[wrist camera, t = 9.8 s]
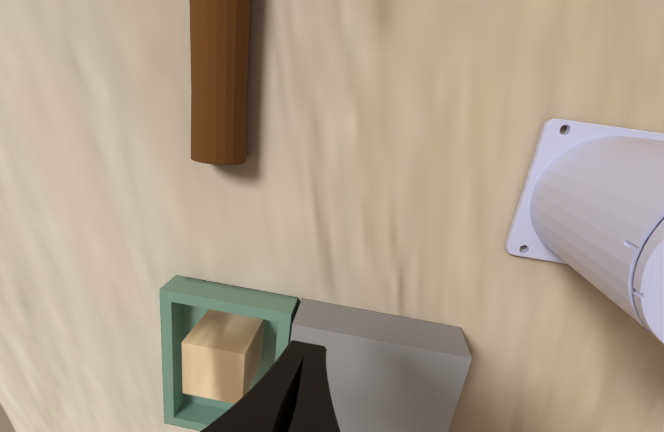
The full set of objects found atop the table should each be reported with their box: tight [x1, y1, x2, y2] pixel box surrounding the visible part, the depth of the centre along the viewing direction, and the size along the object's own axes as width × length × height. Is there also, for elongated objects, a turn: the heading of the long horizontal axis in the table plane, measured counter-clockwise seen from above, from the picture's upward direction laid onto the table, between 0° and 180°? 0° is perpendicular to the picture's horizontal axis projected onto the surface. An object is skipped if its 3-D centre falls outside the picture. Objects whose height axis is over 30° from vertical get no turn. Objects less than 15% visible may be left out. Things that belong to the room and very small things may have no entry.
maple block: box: [182, 309, 265, 404], centre depth 23 cm, size 4×4×4 cm
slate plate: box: [290, 298, 472, 432], centre depth 24 cm, size 11×12×3 cm
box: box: [160, 275, 298, 431], centre depth 25 cm, size 9×12×2 cm
